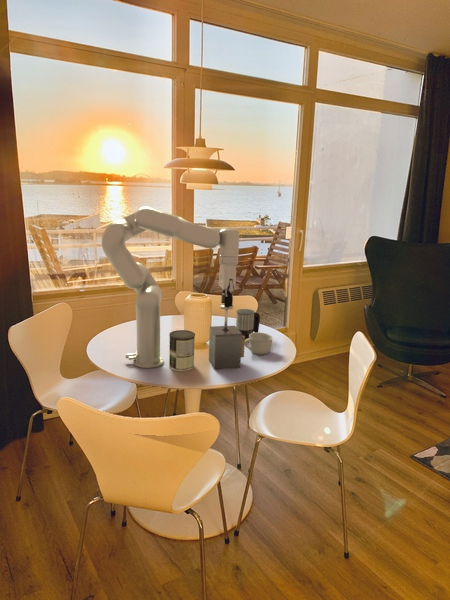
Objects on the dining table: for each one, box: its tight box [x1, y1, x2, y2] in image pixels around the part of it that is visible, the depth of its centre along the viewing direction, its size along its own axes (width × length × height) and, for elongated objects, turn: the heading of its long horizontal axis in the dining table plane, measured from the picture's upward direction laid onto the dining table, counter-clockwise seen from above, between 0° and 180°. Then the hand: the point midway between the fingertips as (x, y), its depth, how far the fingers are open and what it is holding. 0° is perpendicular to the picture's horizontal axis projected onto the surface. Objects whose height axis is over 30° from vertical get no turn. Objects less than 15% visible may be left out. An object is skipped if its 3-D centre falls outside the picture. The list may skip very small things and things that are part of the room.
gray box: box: [208, 325, 245, 371], centre depth 180 cm, size 14×11×15 cm
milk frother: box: [235, 308, 261, 344], centre depth 215 cm, size 14×16×15 cm
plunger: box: [219, 292, 234, 331], centre depth 177 cm, size 8×8×18 cm
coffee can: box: [168, 329, 196, 372], centre depth 176 cm, size 10×10×14 cm
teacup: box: [244, 331, 274, 356], centre depth 196 cm, size 14×11×8 cm
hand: (226, 304), depth 176 cm, fingers closed on plunger, 4 cm apart
